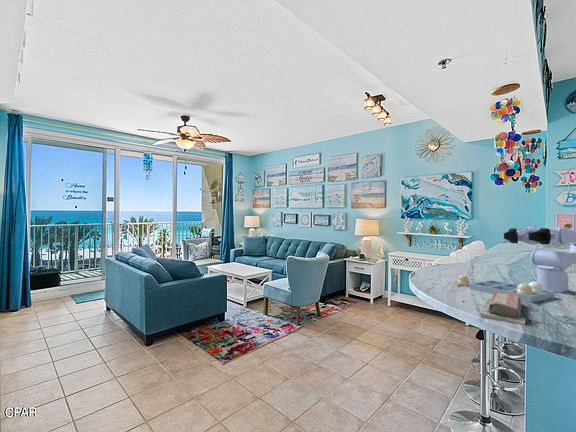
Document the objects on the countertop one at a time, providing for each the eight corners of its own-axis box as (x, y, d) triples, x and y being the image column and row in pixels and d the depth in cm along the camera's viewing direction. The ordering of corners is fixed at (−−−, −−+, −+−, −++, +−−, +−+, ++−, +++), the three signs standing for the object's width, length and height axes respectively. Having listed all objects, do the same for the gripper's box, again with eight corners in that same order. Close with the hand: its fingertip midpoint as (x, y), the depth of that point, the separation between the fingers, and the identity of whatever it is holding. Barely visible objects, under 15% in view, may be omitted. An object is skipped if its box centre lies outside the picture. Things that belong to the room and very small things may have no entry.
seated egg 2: (531, 294, 100) (531, 279, 100) (545, 296, 96) (545, 282, 96) (525, 295, 98) (525, 281, 98) (539, 298, 95) (538, 283, 95)
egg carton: (491, 287, 114) (491, 279, 114) (554, 300, 95) (554, 291, 95) (469, 291, 108) (469, 283, 108) (531, 305, 90) (530, 296, 90)
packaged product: (487, 289, 94) (526, 294, 88) (487, 303, 94) (526, 309, 88) (479, 301, 81) (525, 308, 74) (479, 318, 81) (525, 327, 74)
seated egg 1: (521, 296, 97) (520, 281, 97) (535, 299, 94) (534, 284, 94) (514, 297, 96) (513, 282, 96) (528, 300, 92) (527, 285, 92)
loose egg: (461, 285, 117) (461, 273, 117) (471, 288, 113) (471, 275, 113) (455, 286, 115) (455, 274, 115) (464, 289, 112) (464, 276, 112)
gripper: (517, 225, 110) (494, 225, 105) (565, 224, 97) (541, 224, 92) (518, 243, 110) (495, 244, 105) (566, 245, 96) (542, 246, 91)
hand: (516, 236), depth 98 cm, fingers open, 7 cm apart
